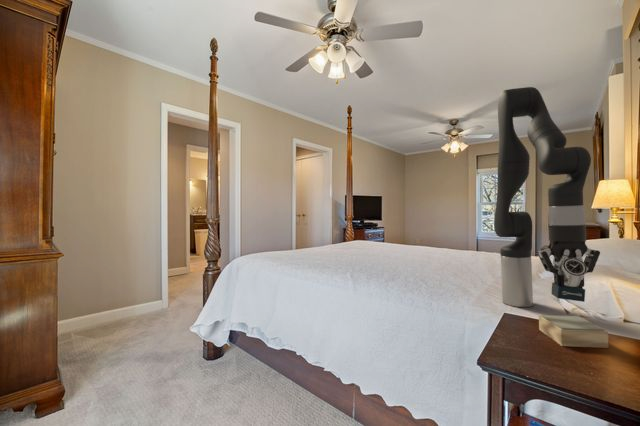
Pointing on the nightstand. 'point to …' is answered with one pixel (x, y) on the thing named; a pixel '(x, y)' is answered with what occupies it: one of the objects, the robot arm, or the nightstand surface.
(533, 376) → the nightstand surface
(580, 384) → the nightstand surface
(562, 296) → the watch
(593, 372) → the nightstand surface
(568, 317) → the oak riser
